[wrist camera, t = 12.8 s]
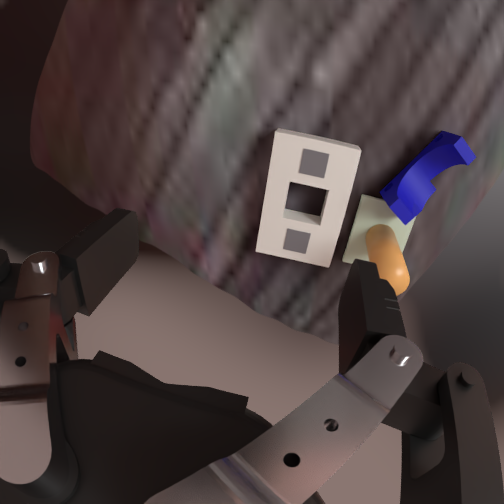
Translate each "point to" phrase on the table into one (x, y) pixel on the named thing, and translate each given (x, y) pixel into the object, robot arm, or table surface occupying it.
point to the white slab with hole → (313, 174)
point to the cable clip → (424, 175)
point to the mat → (367, 217)
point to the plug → (387, 256)
